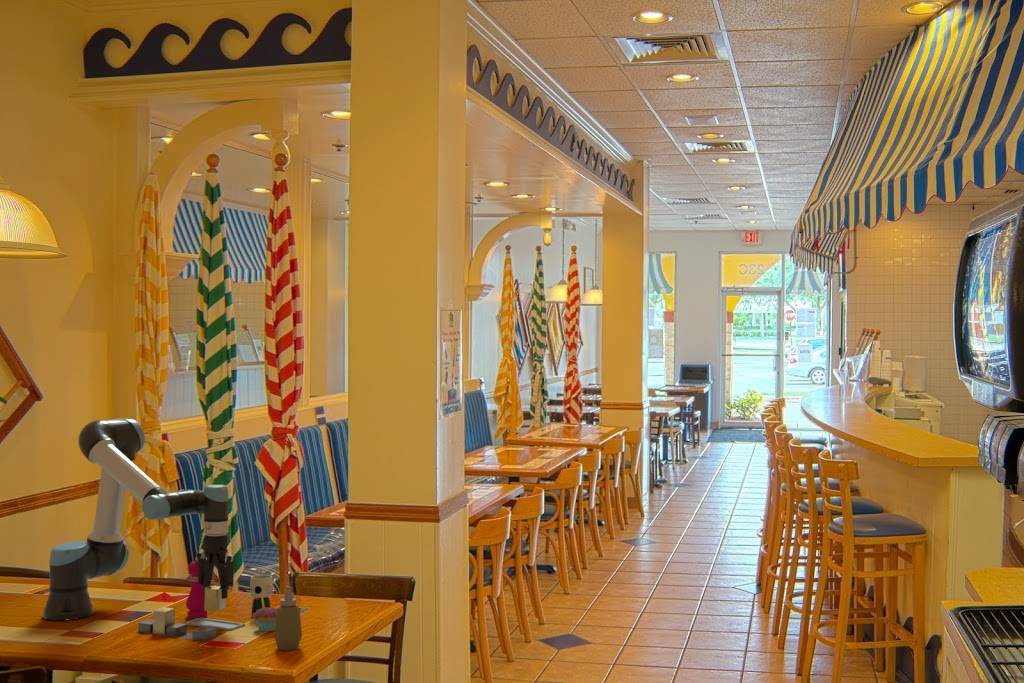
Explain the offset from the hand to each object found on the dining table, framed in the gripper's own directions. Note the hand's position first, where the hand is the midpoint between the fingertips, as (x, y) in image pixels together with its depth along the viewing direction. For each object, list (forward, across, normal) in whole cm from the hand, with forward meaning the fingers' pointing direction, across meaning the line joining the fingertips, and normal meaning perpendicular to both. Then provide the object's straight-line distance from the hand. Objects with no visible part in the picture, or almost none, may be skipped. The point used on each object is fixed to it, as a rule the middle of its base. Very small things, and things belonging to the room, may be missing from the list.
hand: (215, 607), depth 337 cm
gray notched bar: (+6, -3, -14) cm, 15 cm away
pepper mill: (+6, -13, +7) cm, 16 cm away
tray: (+6, 0, 0) cm, 6 cm away
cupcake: (+6, +18, +3) cm, 19 cm away
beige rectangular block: (+1, 0, 0) cm, 1 cm away
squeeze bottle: (+6, +36, -11) cm, 38 cm away
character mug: (+6, +5, +17) cm, 19 cm away
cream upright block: (+5, -8, -14) cm, 17 cm away
